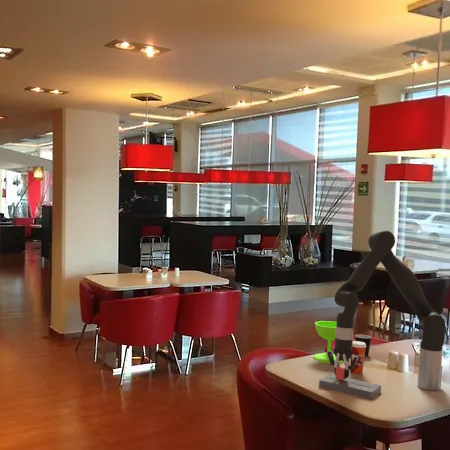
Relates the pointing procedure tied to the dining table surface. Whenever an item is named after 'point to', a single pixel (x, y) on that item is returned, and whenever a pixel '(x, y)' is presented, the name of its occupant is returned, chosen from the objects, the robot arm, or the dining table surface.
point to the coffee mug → (366, 340)
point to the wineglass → (327, 332)
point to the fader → (340, 372)
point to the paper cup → (359, 351)
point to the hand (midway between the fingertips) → (341, 376)
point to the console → (350, 386)
